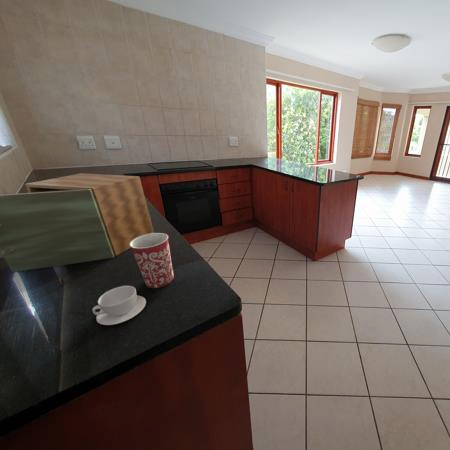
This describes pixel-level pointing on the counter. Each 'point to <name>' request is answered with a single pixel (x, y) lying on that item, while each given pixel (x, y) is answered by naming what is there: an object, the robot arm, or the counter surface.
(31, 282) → the counter surface
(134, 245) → the mug
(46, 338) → the counter surface
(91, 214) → the door
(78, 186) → the cupboard
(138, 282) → the counter surface
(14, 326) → the counter surface
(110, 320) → the teacup
